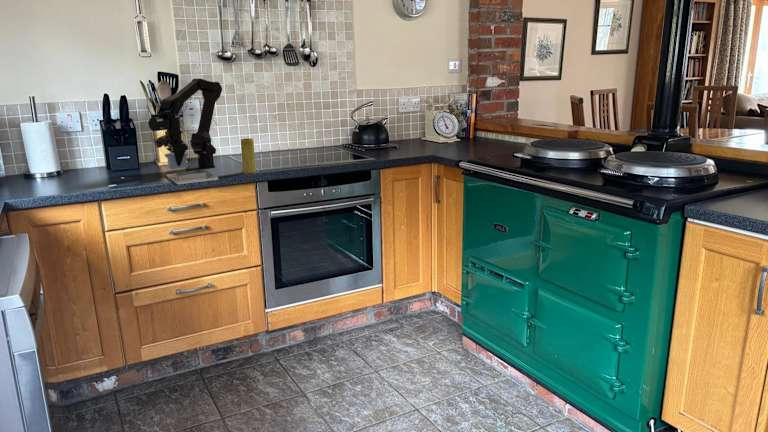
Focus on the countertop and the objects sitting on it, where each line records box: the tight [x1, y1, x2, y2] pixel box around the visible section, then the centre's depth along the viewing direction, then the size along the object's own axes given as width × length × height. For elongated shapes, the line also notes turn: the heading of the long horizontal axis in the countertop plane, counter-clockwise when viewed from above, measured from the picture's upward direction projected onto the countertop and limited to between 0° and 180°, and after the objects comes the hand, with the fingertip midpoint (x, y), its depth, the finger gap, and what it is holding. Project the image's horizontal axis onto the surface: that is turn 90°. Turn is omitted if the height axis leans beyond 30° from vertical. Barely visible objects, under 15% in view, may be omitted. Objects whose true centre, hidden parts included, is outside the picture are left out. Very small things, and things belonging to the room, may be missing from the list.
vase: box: [240, 138, 258, 174], centre depth 245 cm, size 6×6×14 cm
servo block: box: [164, 151, 189, 170], centre depth 245 cm, size 9×4×7 cm, turn 122°
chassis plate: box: [165, 169, 219, 185], centre depth 236 cm, size 16×20×3 cm
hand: (177, 165), depth 245 cm, fingers closed on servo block, 4 cm apart
